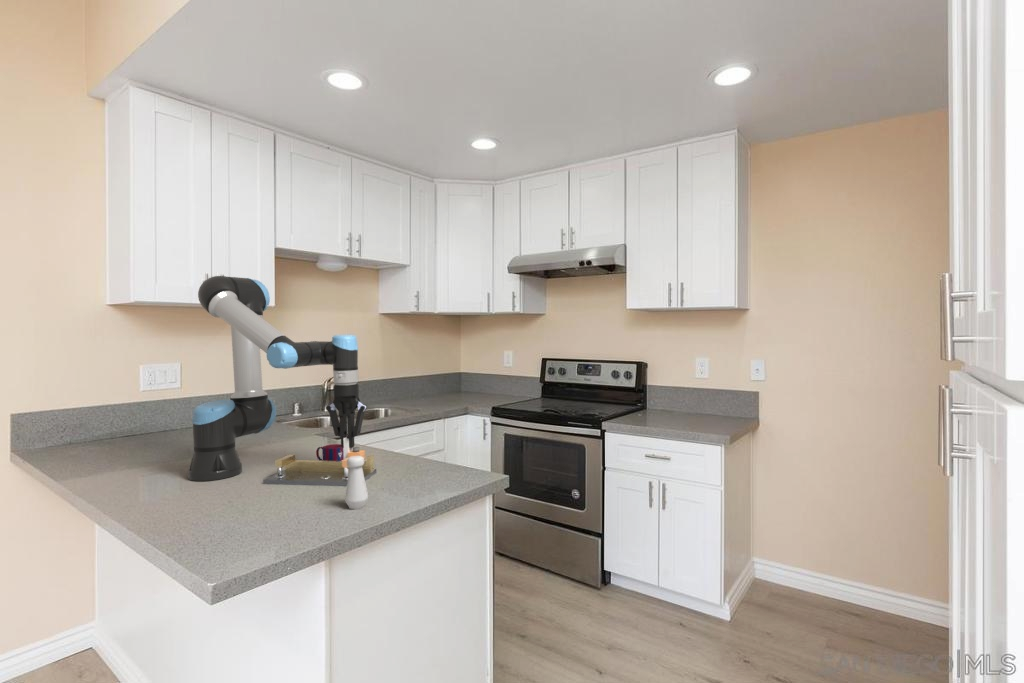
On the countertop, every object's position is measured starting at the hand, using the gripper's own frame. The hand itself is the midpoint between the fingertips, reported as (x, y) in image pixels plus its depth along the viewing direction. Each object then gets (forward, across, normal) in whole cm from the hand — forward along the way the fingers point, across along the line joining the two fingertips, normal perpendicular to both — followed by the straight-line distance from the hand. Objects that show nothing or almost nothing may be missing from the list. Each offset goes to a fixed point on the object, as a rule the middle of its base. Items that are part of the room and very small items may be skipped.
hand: (348, 457), depth 162 cm
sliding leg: (+4, +3, -3) cm, 5 cm away
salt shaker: (+6, +16, -27) cm, 32 cm away
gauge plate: (+6, -7, -4) cm, 10 cm away
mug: (+6, -12, +10) cm, 17 cm away
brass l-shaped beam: (+4, -6, -3) cm, 8 cm away
